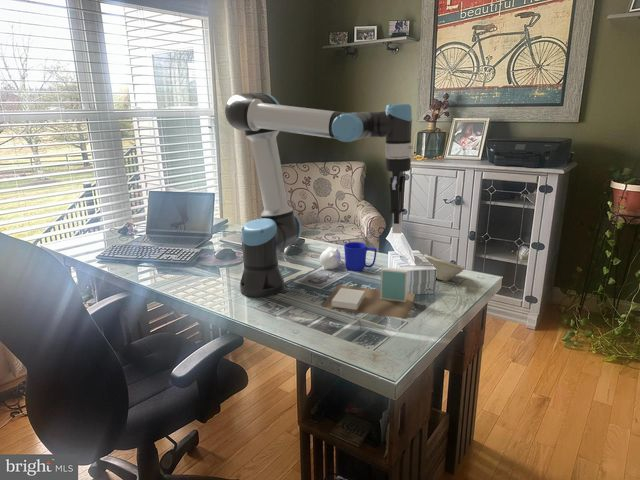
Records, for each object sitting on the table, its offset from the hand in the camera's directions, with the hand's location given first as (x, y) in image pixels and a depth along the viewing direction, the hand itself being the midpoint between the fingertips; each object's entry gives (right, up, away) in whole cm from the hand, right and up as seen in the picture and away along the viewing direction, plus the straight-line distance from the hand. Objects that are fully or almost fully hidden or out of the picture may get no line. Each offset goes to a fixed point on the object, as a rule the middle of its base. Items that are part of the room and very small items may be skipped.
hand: (397, 232), depth 141 cm
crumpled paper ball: (-19, -13, +31) cm, 39 cm away
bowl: (+19, -17, +18) cm, 31 cm away
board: (-9, -22, 0) cm, 24 cm away
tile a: (-14, -19, +3) cm, 24 cm away
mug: (-9, -14, +27) cm, 32 cm away
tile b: (-1, -21, 0) cm, 21 cm away
